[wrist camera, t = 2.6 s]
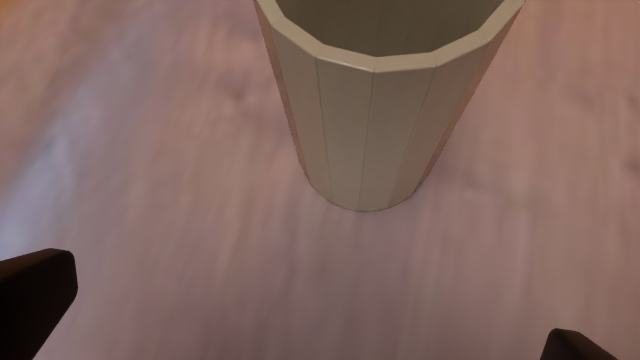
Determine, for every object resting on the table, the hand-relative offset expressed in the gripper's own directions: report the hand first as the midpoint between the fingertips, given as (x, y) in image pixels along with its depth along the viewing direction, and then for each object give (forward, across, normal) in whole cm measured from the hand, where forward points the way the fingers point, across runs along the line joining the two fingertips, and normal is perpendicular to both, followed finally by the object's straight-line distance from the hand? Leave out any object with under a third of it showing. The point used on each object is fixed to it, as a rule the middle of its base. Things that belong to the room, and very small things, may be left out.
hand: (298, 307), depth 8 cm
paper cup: (+15, -1, +1) cm, 15 cm away
